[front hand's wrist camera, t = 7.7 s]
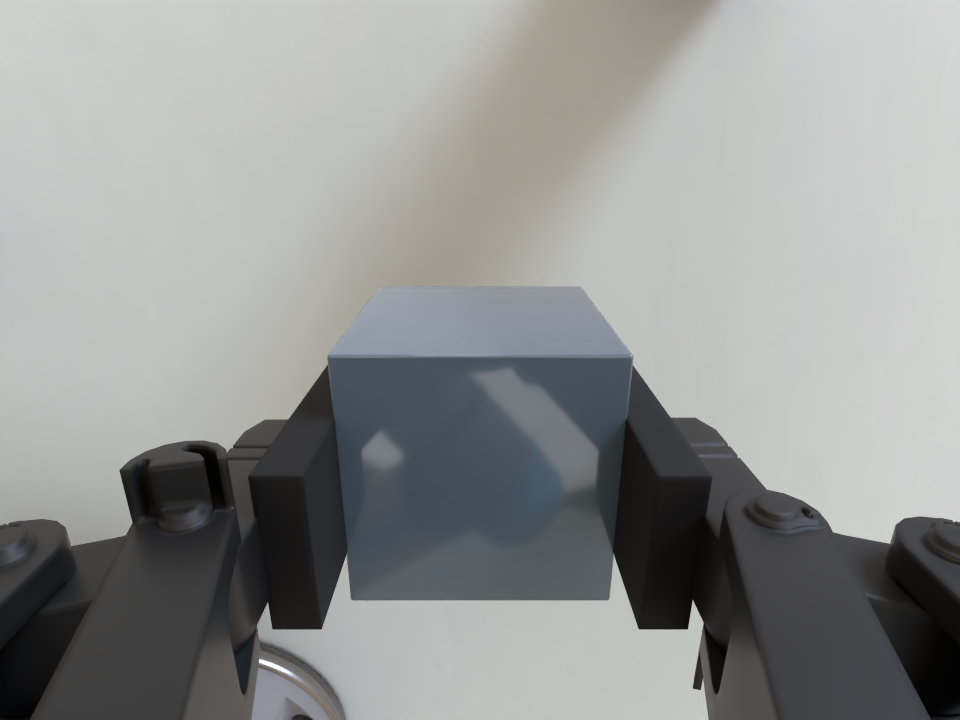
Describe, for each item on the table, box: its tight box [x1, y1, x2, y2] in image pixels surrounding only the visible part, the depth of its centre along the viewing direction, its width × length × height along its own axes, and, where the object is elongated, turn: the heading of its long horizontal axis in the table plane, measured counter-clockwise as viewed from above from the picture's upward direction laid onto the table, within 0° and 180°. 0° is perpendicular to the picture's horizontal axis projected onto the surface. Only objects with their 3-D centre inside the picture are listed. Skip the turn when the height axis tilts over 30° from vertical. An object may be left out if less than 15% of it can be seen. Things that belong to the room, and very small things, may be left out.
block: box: [327, 287, 633, 600], centre depth 12 cm, size 5×5×5 cm
